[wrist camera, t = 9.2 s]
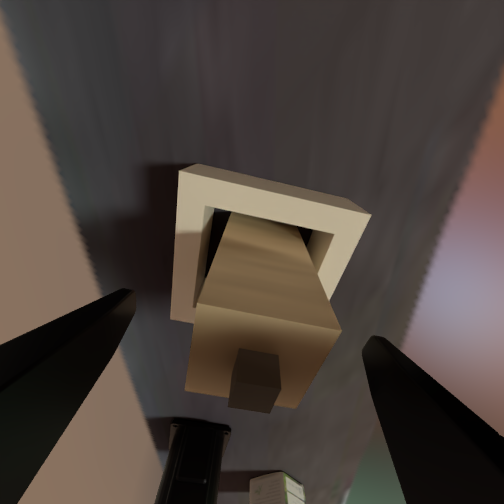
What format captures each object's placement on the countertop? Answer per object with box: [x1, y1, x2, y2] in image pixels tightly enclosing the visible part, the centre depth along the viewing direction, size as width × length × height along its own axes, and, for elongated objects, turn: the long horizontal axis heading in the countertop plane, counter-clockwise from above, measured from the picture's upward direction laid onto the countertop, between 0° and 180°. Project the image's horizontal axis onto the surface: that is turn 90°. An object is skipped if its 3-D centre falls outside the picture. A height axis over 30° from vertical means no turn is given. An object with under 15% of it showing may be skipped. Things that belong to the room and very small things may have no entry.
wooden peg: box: [185, 212, 342, 414], centre depth 10 cm, size 4×4×9 cm
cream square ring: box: [170, 163, 371, 323], centre depth 12 cm, size 8×8×3 cm
